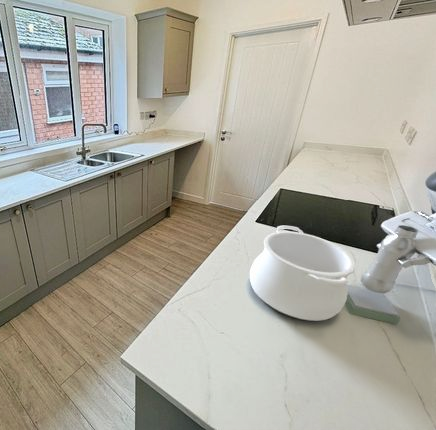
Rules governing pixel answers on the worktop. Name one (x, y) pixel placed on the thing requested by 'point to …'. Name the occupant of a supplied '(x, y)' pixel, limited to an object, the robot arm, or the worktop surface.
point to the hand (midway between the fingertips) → (389, 256)
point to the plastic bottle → (390, 260)
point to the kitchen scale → (370, 305)
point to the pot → (302, 275)
